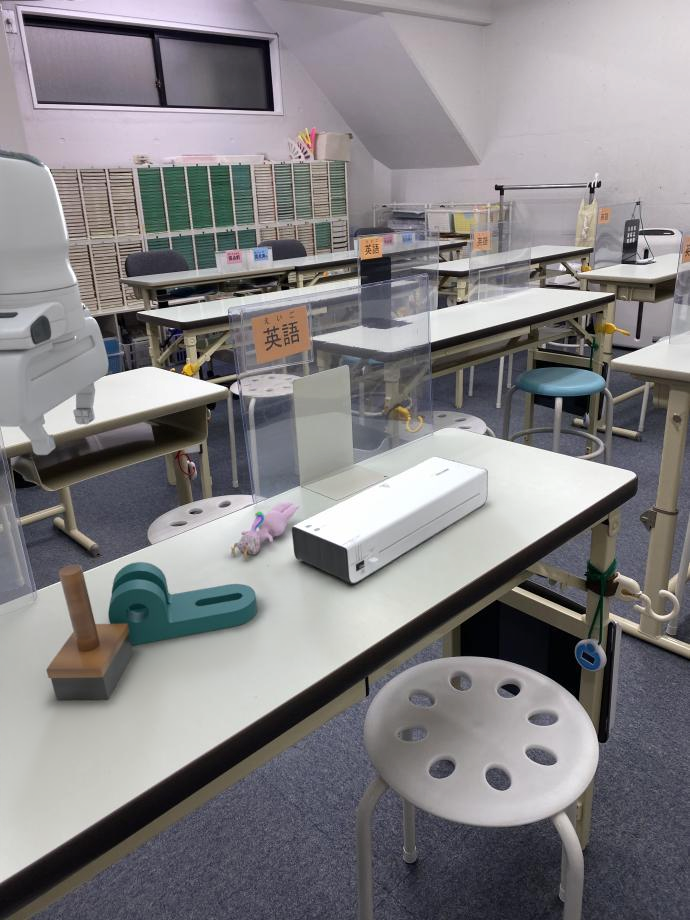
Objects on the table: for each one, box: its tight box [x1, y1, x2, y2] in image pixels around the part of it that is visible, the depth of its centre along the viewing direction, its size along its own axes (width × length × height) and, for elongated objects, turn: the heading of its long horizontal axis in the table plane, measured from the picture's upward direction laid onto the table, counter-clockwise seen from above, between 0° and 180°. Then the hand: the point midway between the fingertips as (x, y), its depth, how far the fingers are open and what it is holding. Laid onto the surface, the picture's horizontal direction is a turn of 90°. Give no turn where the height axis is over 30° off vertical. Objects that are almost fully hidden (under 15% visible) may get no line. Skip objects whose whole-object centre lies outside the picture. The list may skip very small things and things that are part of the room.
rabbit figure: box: [230, 502, 301, 562], centre depth 108 cm, size 6×6×15 cm
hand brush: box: [45, 563, 134, 701], centre depth 78 cm, size 8×6×14 cm
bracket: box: [107, 561, 258, 647], centre depth 88 cm, size 18×7×8 cm, turn 103°
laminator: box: [291, 455, 489, 585], centre depth 107 cm, size 34×12×6 cm, turn 136°
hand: (66, 436), depth 78 cm, fingers open, 8 cm apart
